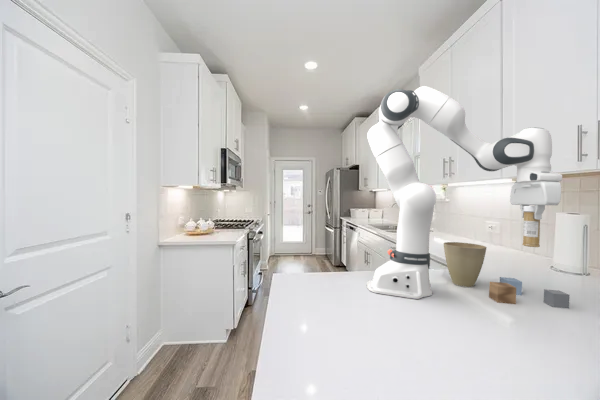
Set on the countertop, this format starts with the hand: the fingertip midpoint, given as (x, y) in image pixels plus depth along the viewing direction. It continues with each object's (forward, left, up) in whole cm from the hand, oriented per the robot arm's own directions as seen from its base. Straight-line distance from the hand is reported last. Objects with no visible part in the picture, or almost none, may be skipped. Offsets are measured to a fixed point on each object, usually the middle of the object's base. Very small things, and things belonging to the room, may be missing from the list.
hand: (531, 218), depth 94 cm
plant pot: (-14, +17, -28) cm, 36 cm away
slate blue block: (0, +11, -28) cm, 30 cm away
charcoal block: (+8, 0, -28) cm, 29 cm away
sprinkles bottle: (0, 0, -9) cm, 9 cm away
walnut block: (-8, 0, -28) cm, 29 cm away
